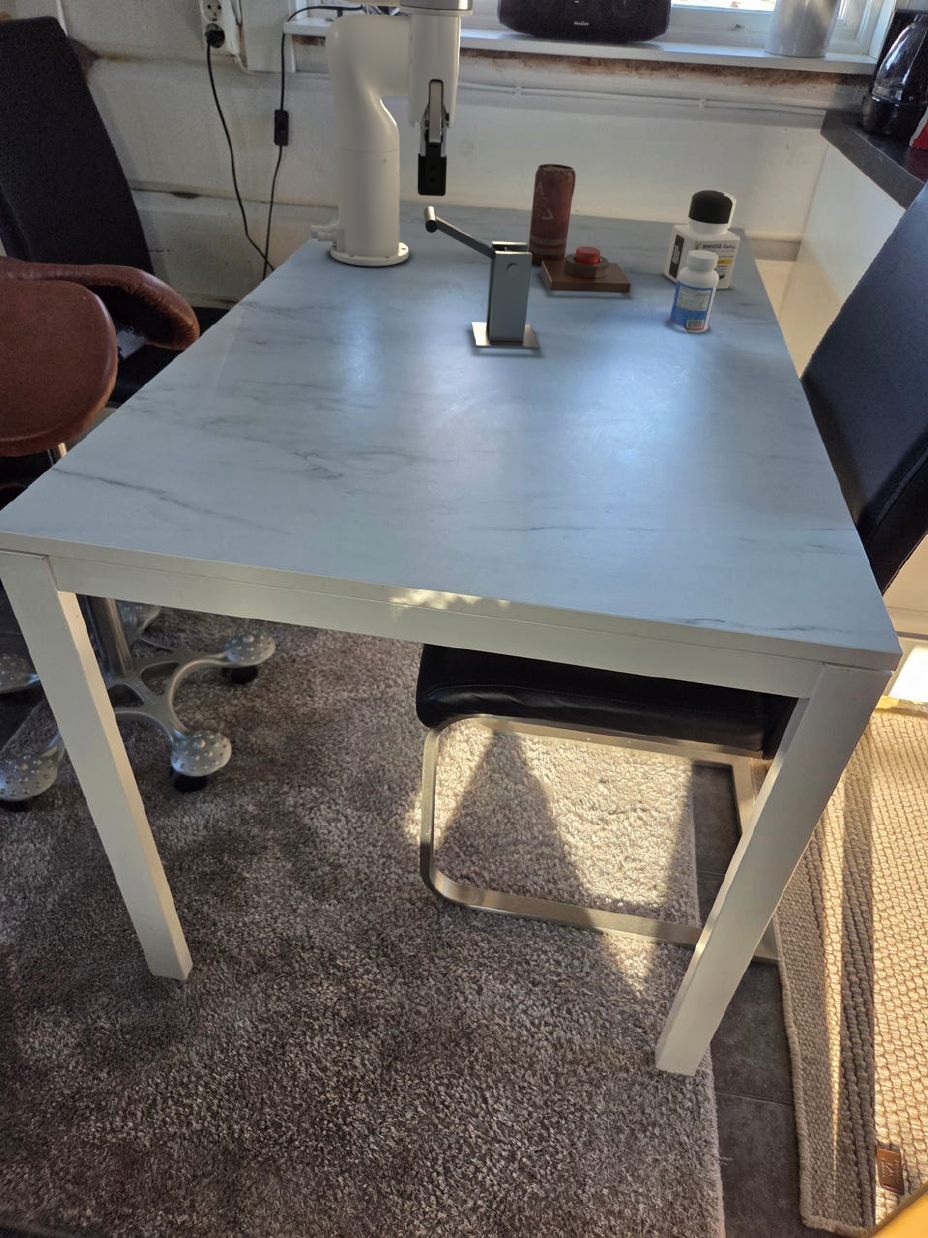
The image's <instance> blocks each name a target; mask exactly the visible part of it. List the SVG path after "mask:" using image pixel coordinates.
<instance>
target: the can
mask: <svg viewBox="0 0 928 1238" xmlns="http://www.w3.org/2000/svg"><path fill="white" fill-rule="evenodd" d="M534 175H535V176H534V185H533V196H532V206H531V216H530V226H529V236H528V251H527V252H530V253H532V265H535V266H540V267H541V265H542V261H565V257H566V250H567V242H568V235H569V225H570V219H571V218H570V217H571V212H572V211H571V210H572V202H573V198H574V193H575V189H576V180H577V179H576V178H577V173H576V171H575V170H574V168H573V167H572V166H569V165H565V164H557V163H555V164H554V163H544V164H540V165H539V166H538V167H537V169H536V172H535V174H534Z"/></svg>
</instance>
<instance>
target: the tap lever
mask: <svg viewBox="0 0 928 1238" xmlns="http://www.w3.org/2000/svg"><path fill="white" fill-rule="evenodd" d="M423 220H424V227H425V230H426V232H428V233H430V234H434V233H436V231H437V230H438V231H440V232H442V233H443V234H445V235H447V236H449V237H451V238H452V239H455V240H456V241H458V242H460V243H462V244H464V245H466V246H467V247H469V248H471V249H472V250H474V251H476V252H478V253H479V254H482V255H484V256H485V257H487V258H489V259H490V260H491V259H493V260H494V261H495V251H498V250H496V249H494V248H492V245H489V244H487V243H485V242H483V241H481V240H480V239H478V238H476V237H474V236H473V235H471V234H469V233H467V232H466V231H464V230H461V228H460V229H459V228H458V227H456V226H454V225H452V224H451V223H449V222H447V221H445V220H444V219H442V218H440V217H438V216H437V213H436V209H435V207H433V206H426V207H425V208H424V210H423ZM502 251H503V252H514V251H512V250H510V249H509V248H507V247H504V249H503V250H502Z"/></svg>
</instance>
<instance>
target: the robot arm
mask: <svg viewBox="0 0 928 1238" xmlns="http://www.w3.org/2000/svg"><path fill="white" fill-rule="evenodd" d="M343 2H347V3H349V4H354V5H362V6H376V7H377V6H379V7H394V8H395V7H397V8H399V9H398V10H399V12H400V13H404V14H409V16H407V15H390V14H376V13H351V14H350V13H349V14H344V15H342V16H339V17H337V18H336V19H335V20H333V21H332V22H331V23H330V25H329V27H328V28H327V31H326V33H325V34H326V35H325V41H324V43H325V44H324V45H325V46H324V48H325V57H326V65H327V71H328V76H329V77H328V78H329V82H330V88H331V96H332V104H333V115H334V132H335V135H334V137H335V157H336V160H335V161H336V182H337V183H336V184H337V206H338V207H337V208H338V211H337V212H338V219H337V221H336V224H332V223H331V224H330V226H323V225H310V236H311V237H310V238H311V239H312V240H313V239H314V240H315V239H316V240H317V242H323V243H325V242H326V243H327V242H332V243H331V244H330V247H329V251H330V252H329V253H330V255H331V257H332V258H334V259H335V260H336V261H339V262H342V263H345V264H349V265H353V266H359V267H361V266H362V267H385V266H386V267H387V266H393V265H396V264H397V265H398V264H400V263H403V262H405V261H406V260H407V259H408V258H409V256H410V250H409V247H408V245H406V244H405V243H403V242H401V241H400V163H401V161H400V153H401V152H400V139H401V138H400V131H399V128H398V125H397V123H396V121H395V119H394V118H393V115H391V113H390V112H389V110H387V108H386V106H385V105H384V103H383V101H382V99H383V98H386V97H387V98H388V97H389V98H390V97H407V112H406V113H407V123H408V124H409V126H410V127H411V128H415V127H416V123H419V152H418V153H417V194H418V195H419V196H425V197H427V196H428V197H445V195H446V194H447V171H448V169H447V168H448V167H447V166H448V156H447V154H446V151H447V150H446V149H447V148H446V147H447V129H448V130H449V129H451V128H452V127H453V126H454V123H455V114H456V105H457V94H458V83H459V82H458V81H459V65H460V45H461V43H460V42H461V17H462V18H463V17H464V18H465V17H469V18H470V17H473V8H474V7H473V6H474V0H343Z"/></svg>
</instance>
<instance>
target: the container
mask: <svg viewBox="0 0 928 1238" xmlns="http://www.w3.org/2000/svg"><path fill="white" fill-rule="evenodd" d="M736 204H737V199H736V198H735V197H734V195H732V194H730V193H728V192H726V191H725V192H724V191H720V190H712V189H706V190H705V189H704V190H700V191H697V192H695V193H694V194H693V195H692V196H691V201H690V206H689V211H688V216H687V220H686V222H687V224H685V223H684V224H674V225H673V228H672V232H671V238H670V242H669V246H668V247H669V248H668V251H667V257H666V262H665V267H664V271H663V275H664V276H665V277H666V278H668V279H669V280H670V281H672V282H673V283H675V284H676V285H677V281H678V276H679V273H680V271H681V270H682V269H683V268H685V267H687V266H688V265H687V262H686V260H687V257H688V253H689V252H690V251H692V250H705V251H710V252H714V253H716V254H717V255H718V262H717V266H716V268H714V271H716V272H717V273H718V275H719V281H718V285H717V290H726V289H728V288H729V286H730V282H731V278H732V275H733V270H734V267H735V262H736V258H737V254H738V251H739V246H740V243H741V237H740V236H739V235H738V234H737V235H736V234H735V233H733V232H731V231H730V230H728V229H730V228H731V224H732V220H733V217H734V213H735V209H736Z"/></svg>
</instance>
